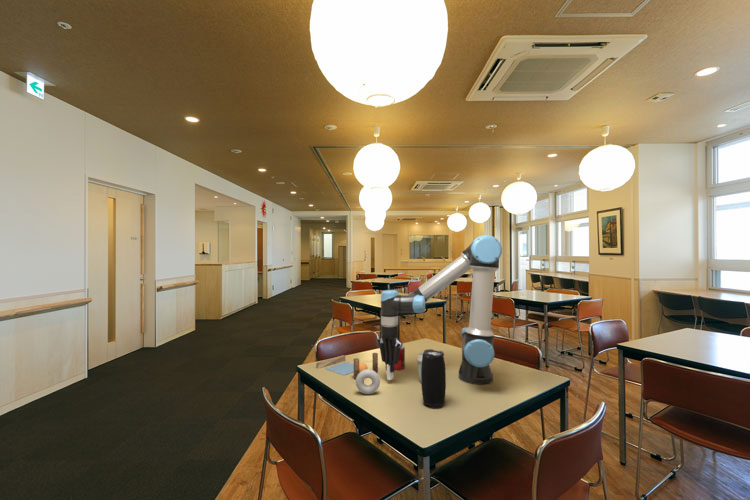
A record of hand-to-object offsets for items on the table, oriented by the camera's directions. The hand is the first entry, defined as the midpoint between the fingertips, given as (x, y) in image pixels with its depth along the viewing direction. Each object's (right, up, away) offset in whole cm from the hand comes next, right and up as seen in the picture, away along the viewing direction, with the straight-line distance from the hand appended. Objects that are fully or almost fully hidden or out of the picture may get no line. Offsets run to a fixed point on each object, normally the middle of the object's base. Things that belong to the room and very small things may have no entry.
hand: (390, 379), depth 145 cm
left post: (-15, -2, +6) cm, 16 cm away
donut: (-10, -2, -12) cm, 15 cm away
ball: (-13, 0, +12) cm, 17 cm away
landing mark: (-22, -3, +21) cm, 30 cm away
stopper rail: (-30, -3, +28) cm, 41 cm away
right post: (-7, -3, +15) cm, 16 cm away
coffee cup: (+16, -2, +1) cm, 16 cm away
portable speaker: (+15, -1, -21) cm, 27 cm away
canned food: (+4, -3, +21) cm, 21 cm away
